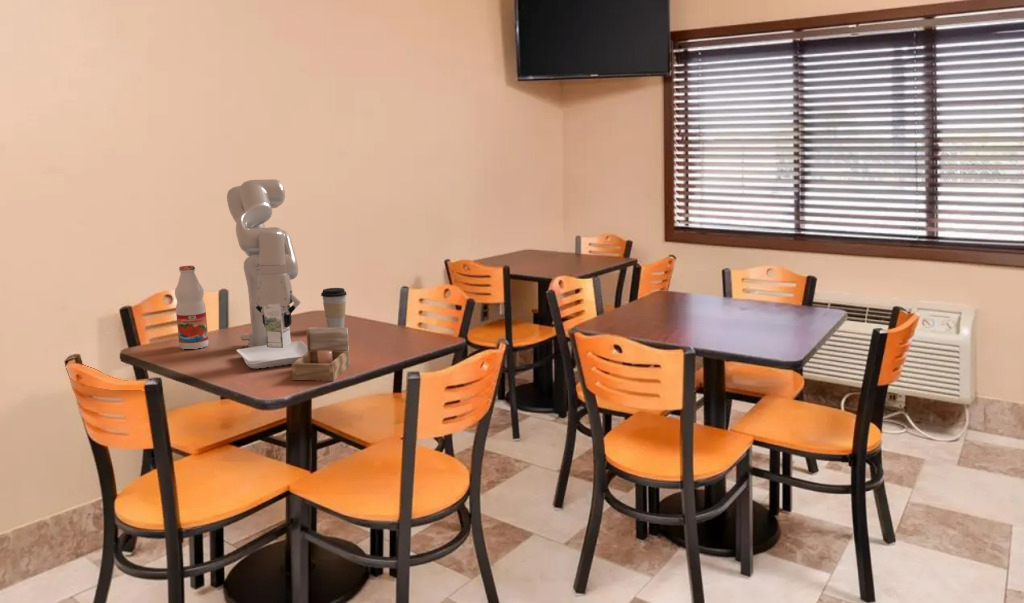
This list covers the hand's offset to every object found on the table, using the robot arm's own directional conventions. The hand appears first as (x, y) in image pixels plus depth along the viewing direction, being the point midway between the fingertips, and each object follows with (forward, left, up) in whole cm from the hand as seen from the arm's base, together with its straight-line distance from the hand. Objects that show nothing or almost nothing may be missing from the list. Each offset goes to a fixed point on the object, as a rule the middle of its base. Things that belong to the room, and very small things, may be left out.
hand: (277, 325), depth 244 cm
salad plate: (-2, +1, -12) cm, 12 cm away
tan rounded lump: (+18, -10, -11) cm, 24 cm away
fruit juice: (-37, +18, -12) cm, 43 cm away
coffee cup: (+4, +47, -12) cm, 49 cm away
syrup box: (0, 0, -7) cm, 7 cm away
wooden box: (+18, -14, -11) cm, 26 cm away
